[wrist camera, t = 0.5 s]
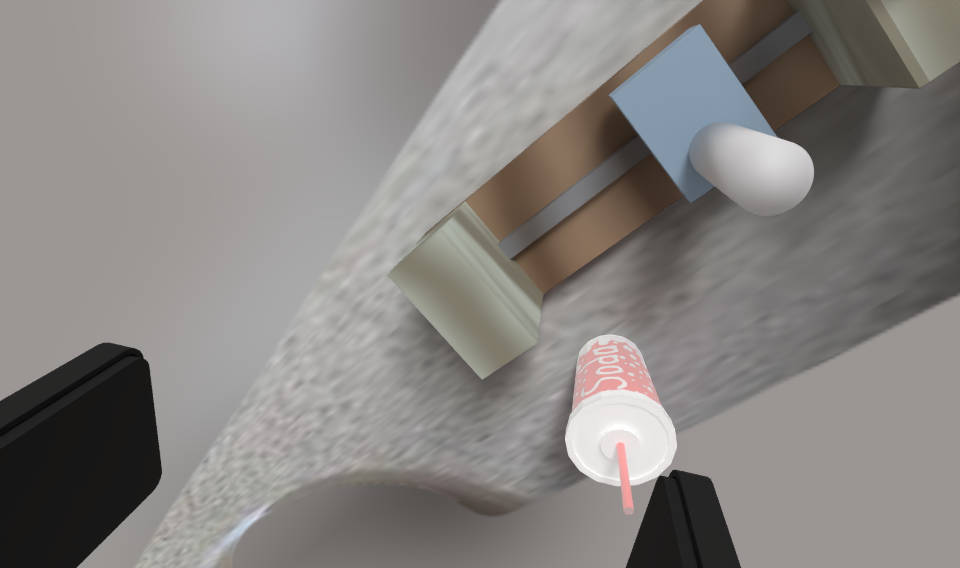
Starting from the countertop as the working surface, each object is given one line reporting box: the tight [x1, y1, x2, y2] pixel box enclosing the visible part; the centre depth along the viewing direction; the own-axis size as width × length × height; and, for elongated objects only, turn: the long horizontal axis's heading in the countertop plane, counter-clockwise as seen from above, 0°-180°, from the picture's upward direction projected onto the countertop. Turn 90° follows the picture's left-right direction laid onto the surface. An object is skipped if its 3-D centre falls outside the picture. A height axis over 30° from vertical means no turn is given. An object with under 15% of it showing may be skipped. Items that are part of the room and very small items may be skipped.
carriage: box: [609, 24, 814, 216], centre depth 24 cm, size 5×7×10 cm
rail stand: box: [387, 0, 960, 380], centre depth 29 cm, size 28×8×8 cm, turn 130°
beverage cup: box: [565, 334, 677, 515], centre depth 32 cm, size 6×6×14 cm
